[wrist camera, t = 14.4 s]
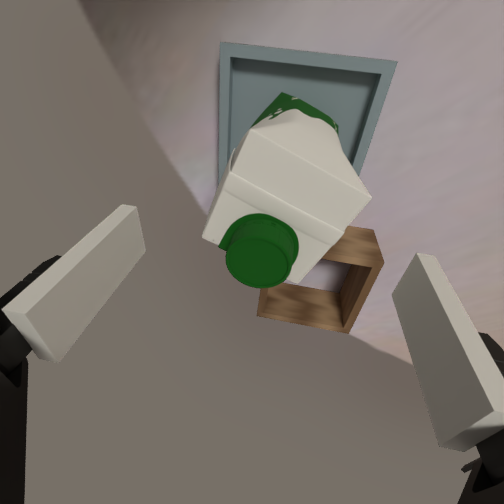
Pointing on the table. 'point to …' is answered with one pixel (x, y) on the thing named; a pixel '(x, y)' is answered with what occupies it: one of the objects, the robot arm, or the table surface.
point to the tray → (301, 92)
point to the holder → (326, 302)
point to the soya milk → (284, 195)
